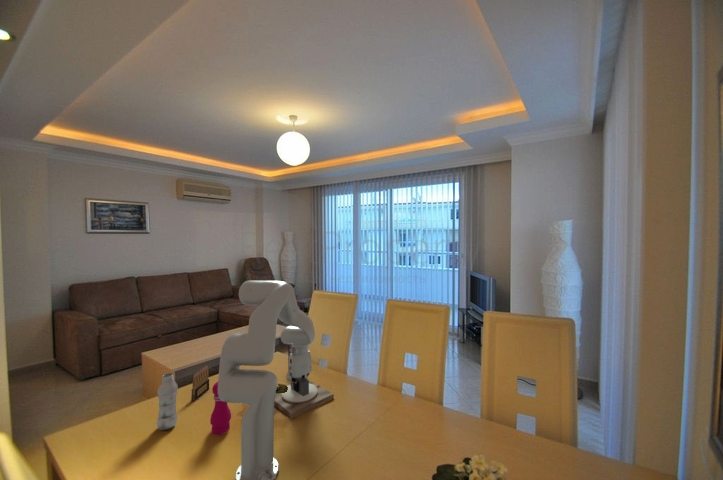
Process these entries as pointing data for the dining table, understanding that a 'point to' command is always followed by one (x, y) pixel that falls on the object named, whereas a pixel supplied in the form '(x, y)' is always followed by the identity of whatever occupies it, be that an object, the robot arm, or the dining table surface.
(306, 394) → the dial
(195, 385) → the ammunition clip
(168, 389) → the plastic bottle
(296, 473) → the dining table surface
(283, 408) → the dial board
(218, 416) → the pepper mill
